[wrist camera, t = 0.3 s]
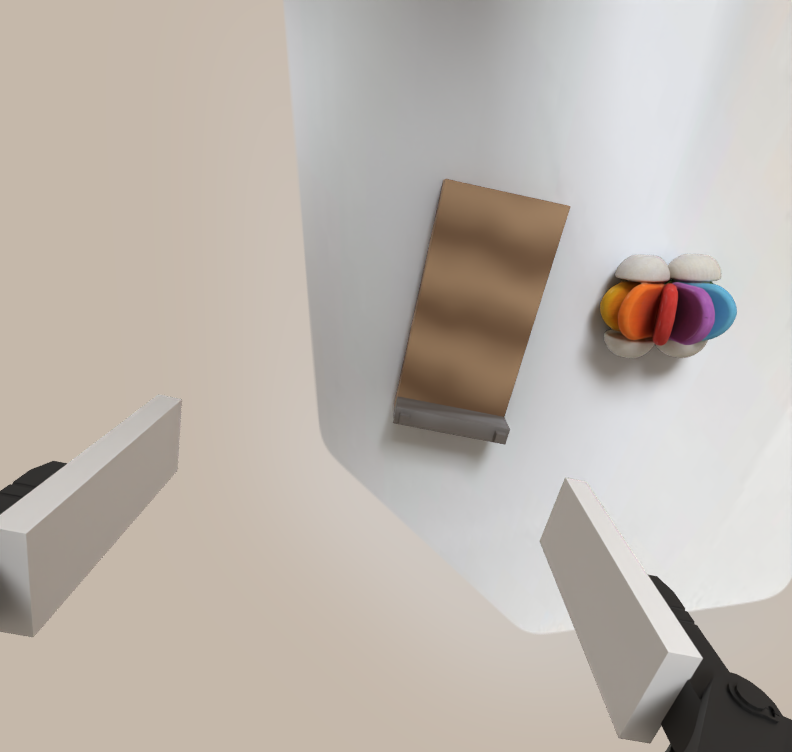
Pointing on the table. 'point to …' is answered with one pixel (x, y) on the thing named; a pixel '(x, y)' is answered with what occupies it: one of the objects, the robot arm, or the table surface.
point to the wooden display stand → (476, 309)
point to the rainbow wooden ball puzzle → (666, 306)
